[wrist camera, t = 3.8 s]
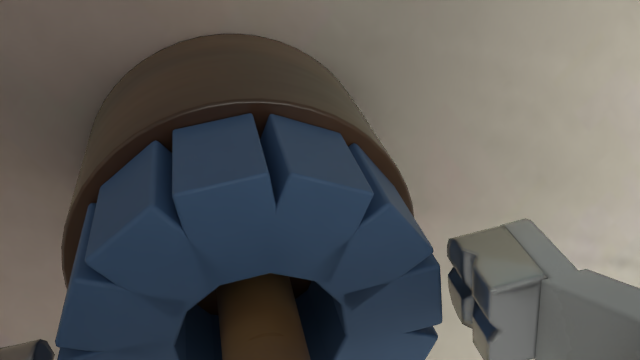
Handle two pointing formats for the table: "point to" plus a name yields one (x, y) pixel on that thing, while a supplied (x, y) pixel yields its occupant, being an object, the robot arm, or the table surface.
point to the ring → (250, 247)
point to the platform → (210, 105)
